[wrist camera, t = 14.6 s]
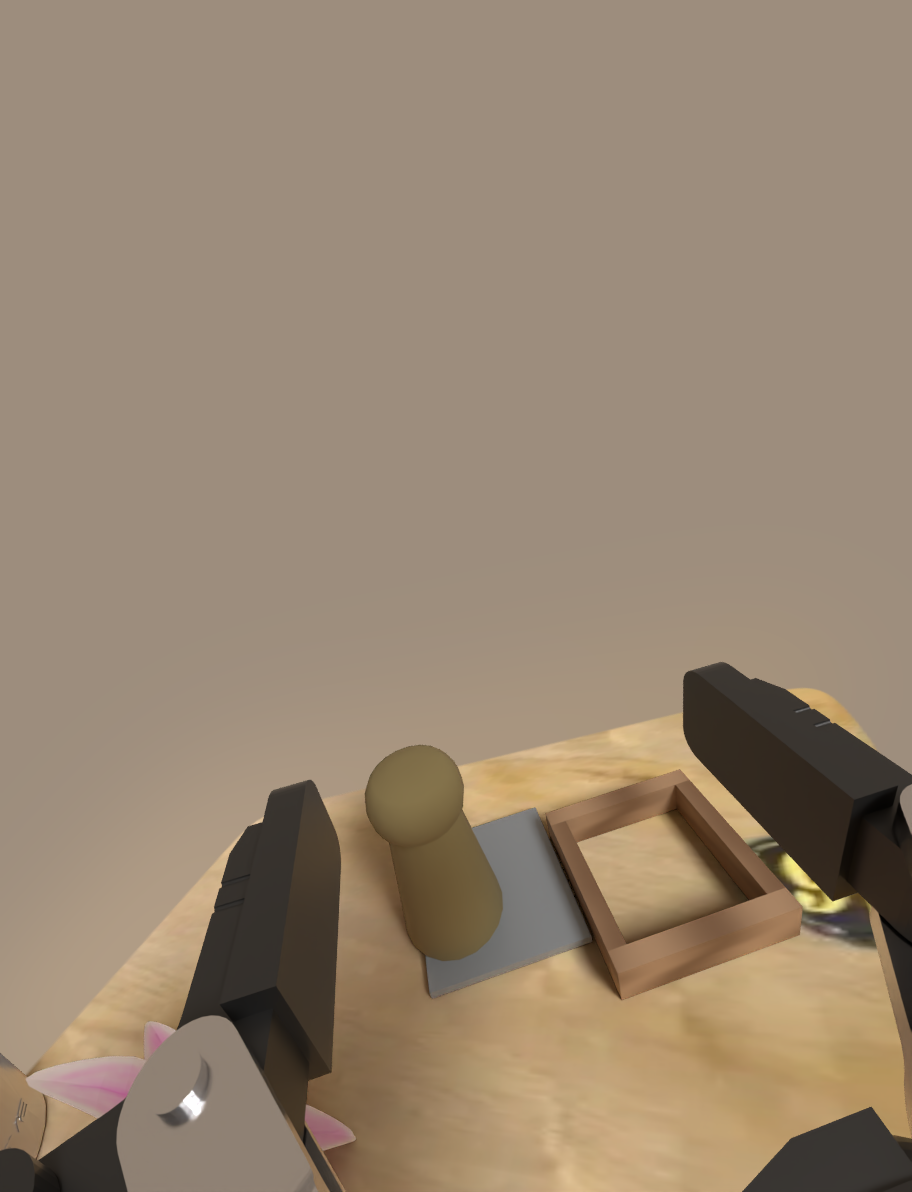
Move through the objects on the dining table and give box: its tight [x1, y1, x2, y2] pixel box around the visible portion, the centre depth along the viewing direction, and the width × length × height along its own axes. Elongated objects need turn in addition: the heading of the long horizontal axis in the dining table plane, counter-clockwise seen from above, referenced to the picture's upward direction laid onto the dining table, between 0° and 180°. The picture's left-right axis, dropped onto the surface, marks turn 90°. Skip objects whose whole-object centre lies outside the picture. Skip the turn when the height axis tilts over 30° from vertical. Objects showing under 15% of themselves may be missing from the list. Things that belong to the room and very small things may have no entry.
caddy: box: [545, 769, 802, 1000], centre depth 27 cm, size 10×10×2 cm
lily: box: [26, 1021, 356, 1151], centre depth 18 cm, size 12×12×10 cm
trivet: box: [425, 808, 592, 999], centre depth 29 cm, size 9×9×1 cm
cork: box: [365, 745, 503, 961], centre depth 26 cm, size 6×6×11 cm
